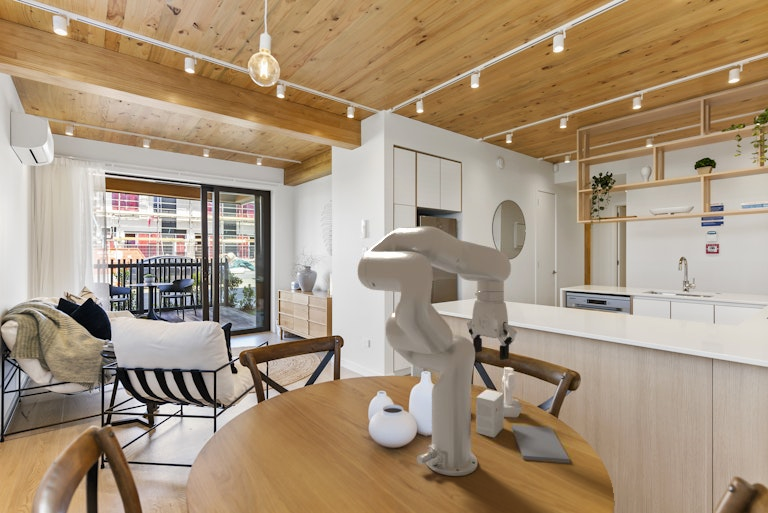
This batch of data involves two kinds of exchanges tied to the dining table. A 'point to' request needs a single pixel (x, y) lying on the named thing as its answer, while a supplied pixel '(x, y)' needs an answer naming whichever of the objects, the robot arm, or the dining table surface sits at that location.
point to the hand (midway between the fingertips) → (490, 355)
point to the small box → (489, 413)
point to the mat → (539, 444)
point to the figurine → (510, 394)
